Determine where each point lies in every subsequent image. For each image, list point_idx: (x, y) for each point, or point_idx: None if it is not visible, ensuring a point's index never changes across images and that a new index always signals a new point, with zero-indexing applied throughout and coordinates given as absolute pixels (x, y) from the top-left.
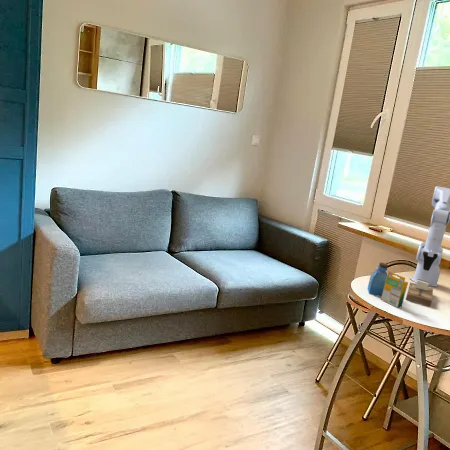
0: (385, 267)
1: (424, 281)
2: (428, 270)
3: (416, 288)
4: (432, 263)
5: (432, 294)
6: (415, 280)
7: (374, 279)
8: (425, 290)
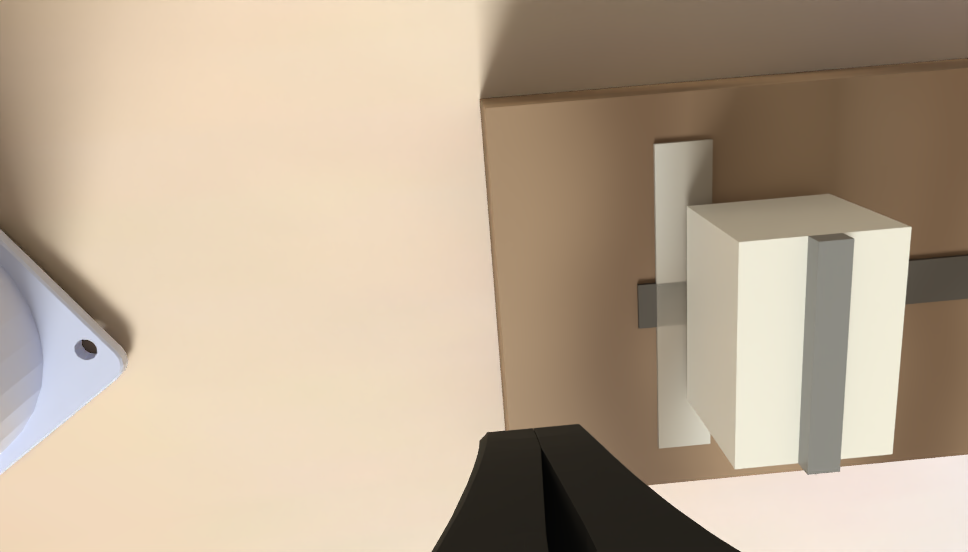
0: None
1: (839, 328)
2: (583, 431)
3: None
4: (724, 543)
5: (927, 73)
6: (14, 438)
7: None
8: None
